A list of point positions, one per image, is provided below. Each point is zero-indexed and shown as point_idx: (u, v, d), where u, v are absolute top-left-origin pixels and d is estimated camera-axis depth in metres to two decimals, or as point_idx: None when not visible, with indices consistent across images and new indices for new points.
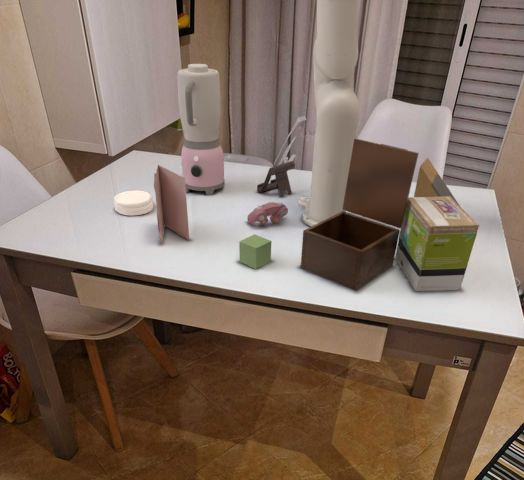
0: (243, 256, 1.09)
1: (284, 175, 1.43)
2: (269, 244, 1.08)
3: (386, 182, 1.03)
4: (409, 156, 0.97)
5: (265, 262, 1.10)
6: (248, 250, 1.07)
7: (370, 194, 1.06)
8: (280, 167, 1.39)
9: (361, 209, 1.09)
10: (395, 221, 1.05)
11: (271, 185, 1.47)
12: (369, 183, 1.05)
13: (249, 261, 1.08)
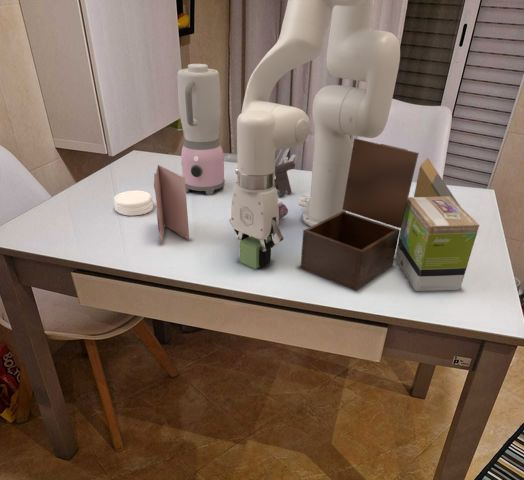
0: (243, 256, 1.09)
1: (284, 175, 1.43)
2: None
3: (386, 182, 1.03)
4: (409, 156, 0.97)
5: None
6: (248, 250, 1.07)
7: (370, 194, 1.06)
8: (280, 167, 1.39)
9: (361, 209, 1.09)
10: (395, 221, 1.05)
11: None
12: (369, 183, 1.05)
13: (249, 261, 1.08)
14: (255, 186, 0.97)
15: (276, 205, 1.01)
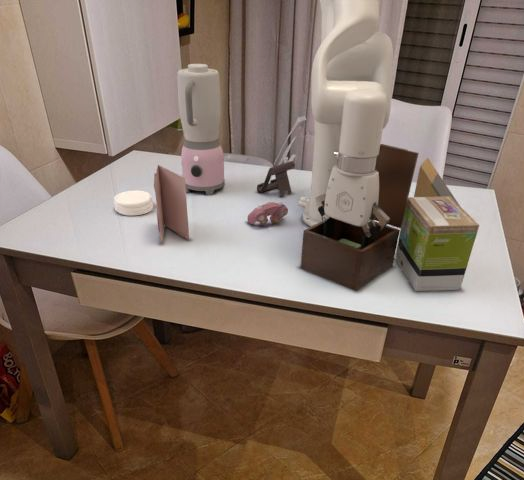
0: None
1: (284, 175, 1.43)
2: None
3: (386, 182, 1.03)
4: (409, 156, 0.97)
5: None
6: None
7: None
8: (280, 167, 1.39)
9: None
10: (395, 221, 1.05)
11: (271, 185, 1.47)
12: None
13: None
14: (359, 169, 0.92)
15: (377, 190, 0.96)
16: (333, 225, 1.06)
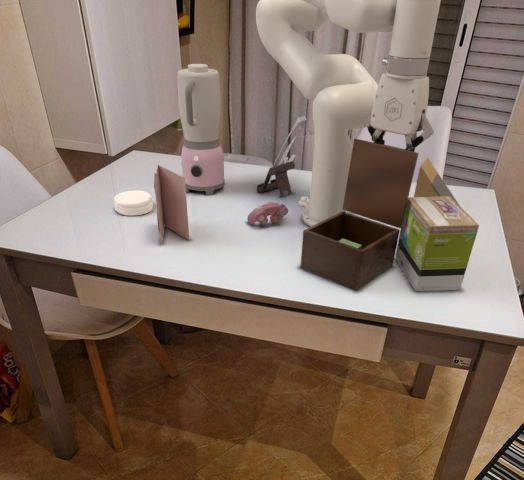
0: None
1: (284, 175, 1.43)
2: None
3: (386, 182, 1.03)
4: (409, 156, 0.97)
5: None
6: None
7: (370, 194, 1.06)
8: (280, 167, 1.39)
9: (361, 209, 1.09)
10: (395, 221, 1.05)
11: (271, 185, 1.47)
12: (369, 183, 1.05)
13: None
14: (411, 71, 0.91)
15: (427, 96, 0.95)
16: None
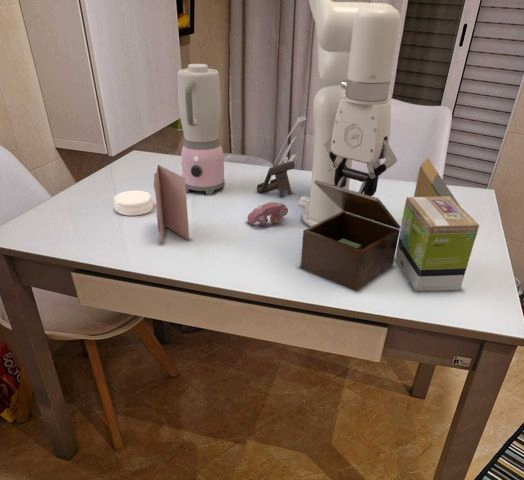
0: None
1: (284, 175, 1.43)
2: None
3: (365, 207, 1.00)
4: (371, 201, 0.94)
5: None
6: None
7: (358, 209, 1.05)
8: (280, 167, 1.39)
9: (358, 214, 1.09)
10: (392, 225, 1.04)
11: (271, 185, 1.47)
12: (351, 205, 1.03)
13: None
14: (370, 97, 0.85)
15: (389, 122, 0.88)
16: None
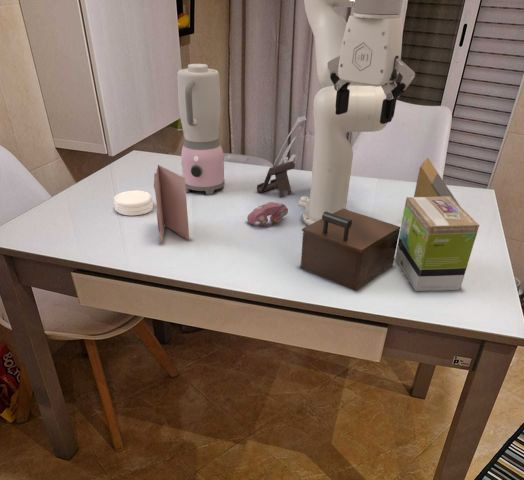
0: None
1: (284, 175, 1.43)
2: None
3: None
4: None
5: None
6: None
7: None
8: (280, 167, 1.39)
9: None
10: None
11: (271, 185, 1.47)
12: None
13: None
14: (381, 9, 0.79)
15: (400, 40, 0.83)
16: (347, 97, 0.94)
